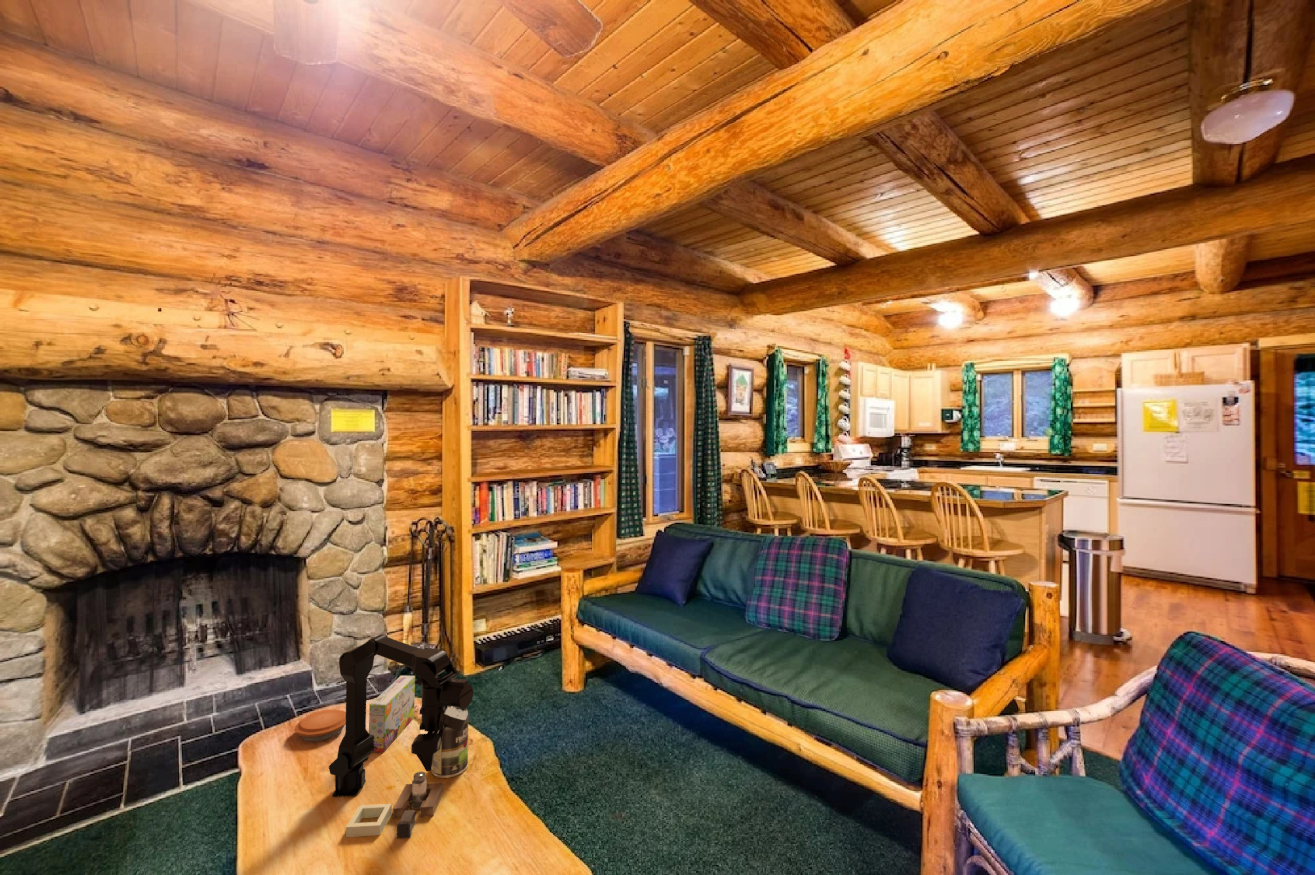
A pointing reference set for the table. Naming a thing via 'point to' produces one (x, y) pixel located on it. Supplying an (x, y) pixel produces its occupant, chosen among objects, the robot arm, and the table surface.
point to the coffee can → (452, 753)
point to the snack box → (392, 712)
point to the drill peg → (419, 789)
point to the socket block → (427, 806)
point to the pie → (321, 725)
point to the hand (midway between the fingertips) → (433, 760)
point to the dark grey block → (406, 824)
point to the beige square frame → (369, 828)
